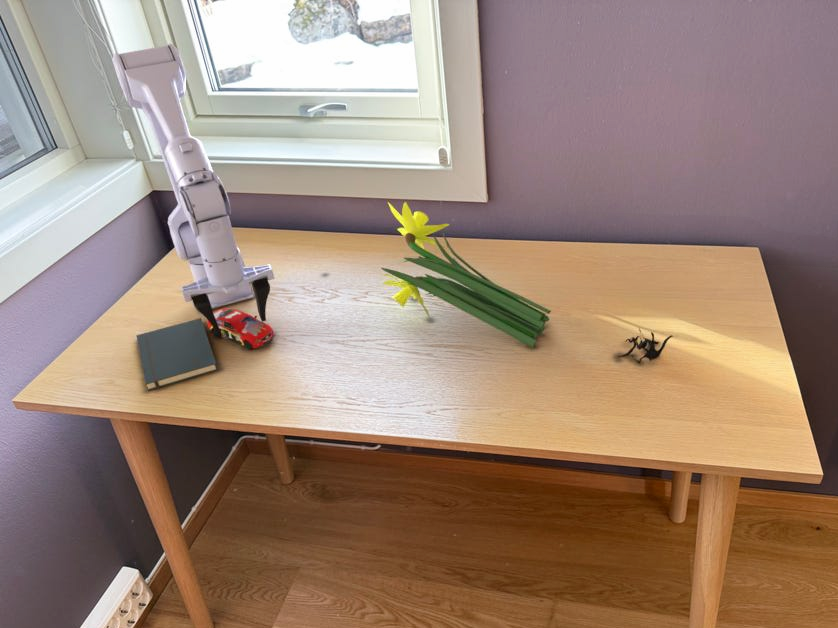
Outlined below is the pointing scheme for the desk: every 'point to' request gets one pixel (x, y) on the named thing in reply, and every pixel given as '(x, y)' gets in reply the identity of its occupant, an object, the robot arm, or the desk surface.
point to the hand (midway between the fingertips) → (240, 324)
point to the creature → (651, 352)
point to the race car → (242, 328)
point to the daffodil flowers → (484, 294)
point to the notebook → (175, 354)
